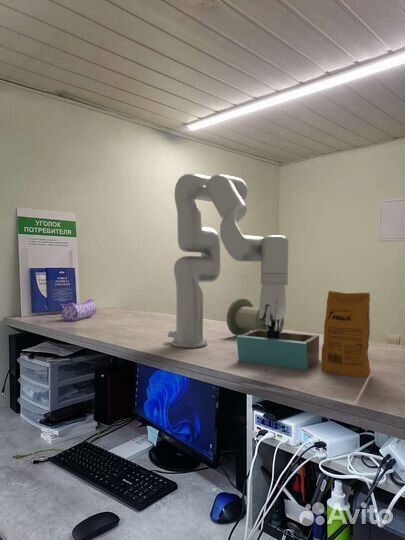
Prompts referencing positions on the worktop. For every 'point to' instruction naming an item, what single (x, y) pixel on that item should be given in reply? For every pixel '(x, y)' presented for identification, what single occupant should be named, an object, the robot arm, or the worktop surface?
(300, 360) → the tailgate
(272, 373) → the worktop surface
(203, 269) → the robot arm
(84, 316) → the pencil case
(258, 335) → the crate
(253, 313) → the spool
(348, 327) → the coffee package
